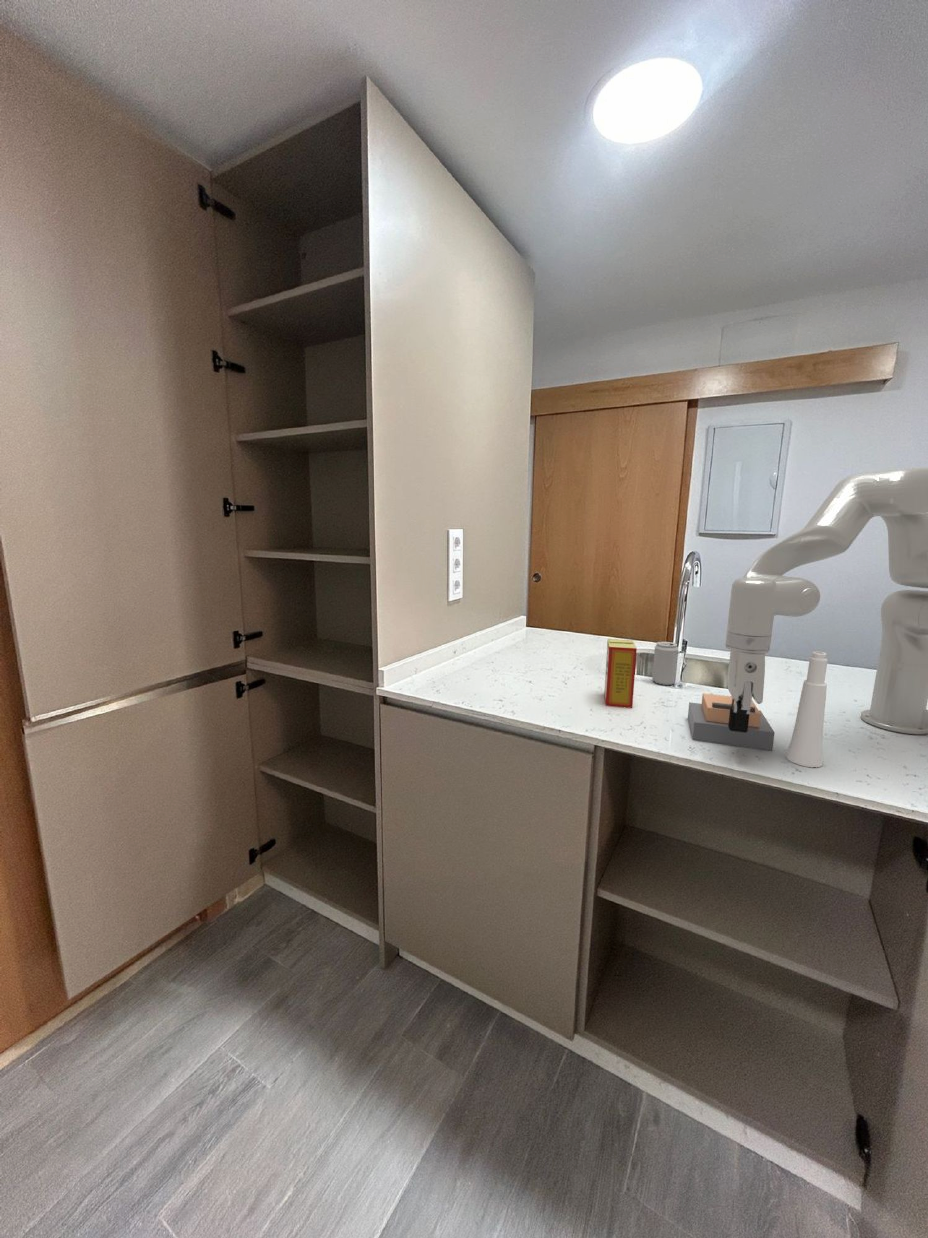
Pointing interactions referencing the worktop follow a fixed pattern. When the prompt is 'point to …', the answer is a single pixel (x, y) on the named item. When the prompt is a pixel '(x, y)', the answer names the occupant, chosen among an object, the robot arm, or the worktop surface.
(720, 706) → the orange slotted box
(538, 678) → the worktop surface
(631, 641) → the baking soda box
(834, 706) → the worktop surface
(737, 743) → the socket block
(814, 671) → the cosmetic bottle
